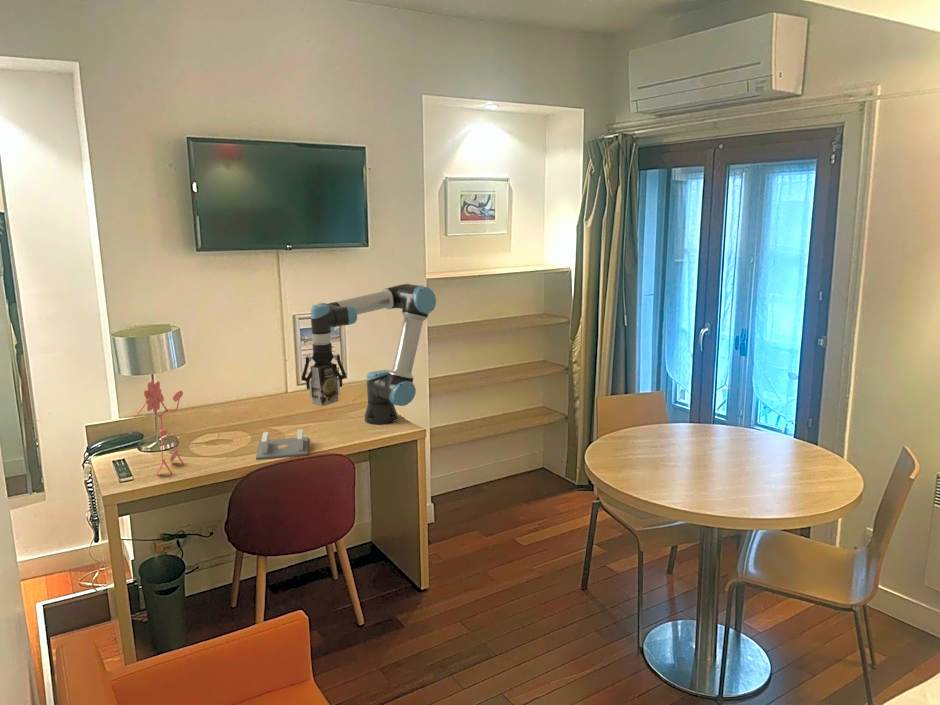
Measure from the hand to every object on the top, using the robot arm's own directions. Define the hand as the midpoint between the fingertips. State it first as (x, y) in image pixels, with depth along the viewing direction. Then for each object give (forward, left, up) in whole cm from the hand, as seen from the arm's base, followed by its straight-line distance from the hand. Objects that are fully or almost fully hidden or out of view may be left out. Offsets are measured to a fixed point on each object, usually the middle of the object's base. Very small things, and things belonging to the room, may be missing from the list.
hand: (325, 395), depth 282 cm
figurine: (+63, +11, -22) cm, 68 cm away
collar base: (+18, 0, -22) cm, 28 cm away
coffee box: (0, 0, -3) cm, 3 cm away
